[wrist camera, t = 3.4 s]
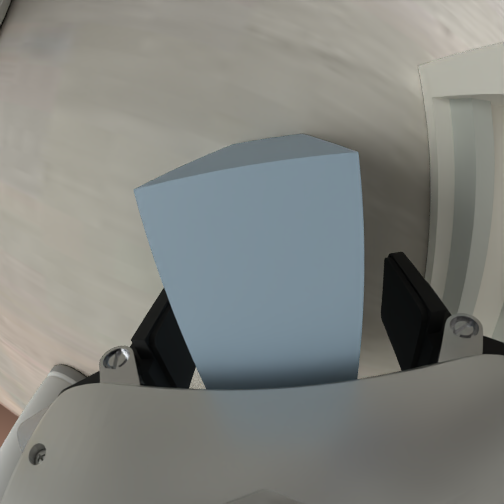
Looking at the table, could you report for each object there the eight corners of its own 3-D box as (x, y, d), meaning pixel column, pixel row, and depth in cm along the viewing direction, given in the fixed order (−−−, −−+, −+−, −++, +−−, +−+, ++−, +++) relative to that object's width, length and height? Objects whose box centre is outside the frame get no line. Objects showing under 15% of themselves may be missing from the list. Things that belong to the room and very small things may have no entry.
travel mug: (108, 386, 21) (28, 565, 3) (103, 412, 23) (40, 556, 5) (52, 350, 20) (-45, 509, 2) (55, 382, 23) (-19, 515, 5)
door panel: (233, 144, 12) (133, 189, 4) (302, 133, 11) (358, 152, 3) (273, 352, 17) (263, 492, 8) (323, 348, 16) (336, 488, 8)
